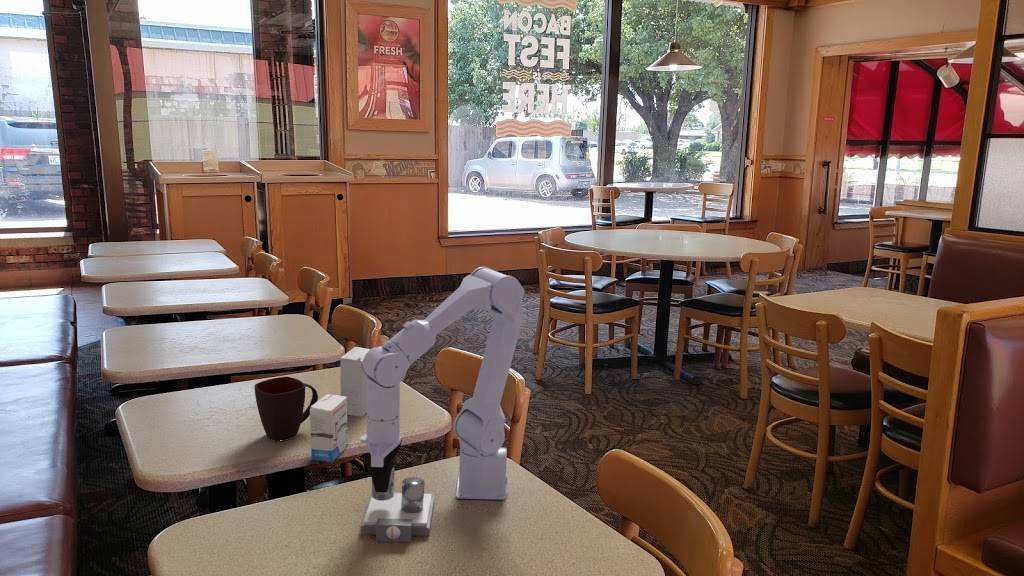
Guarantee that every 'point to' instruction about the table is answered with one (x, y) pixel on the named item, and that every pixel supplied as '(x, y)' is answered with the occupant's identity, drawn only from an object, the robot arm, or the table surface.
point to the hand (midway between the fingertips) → (383, 484)
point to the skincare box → (354, 381)
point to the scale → (396, 519)
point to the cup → (282, 406)
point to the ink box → (328, 427)
